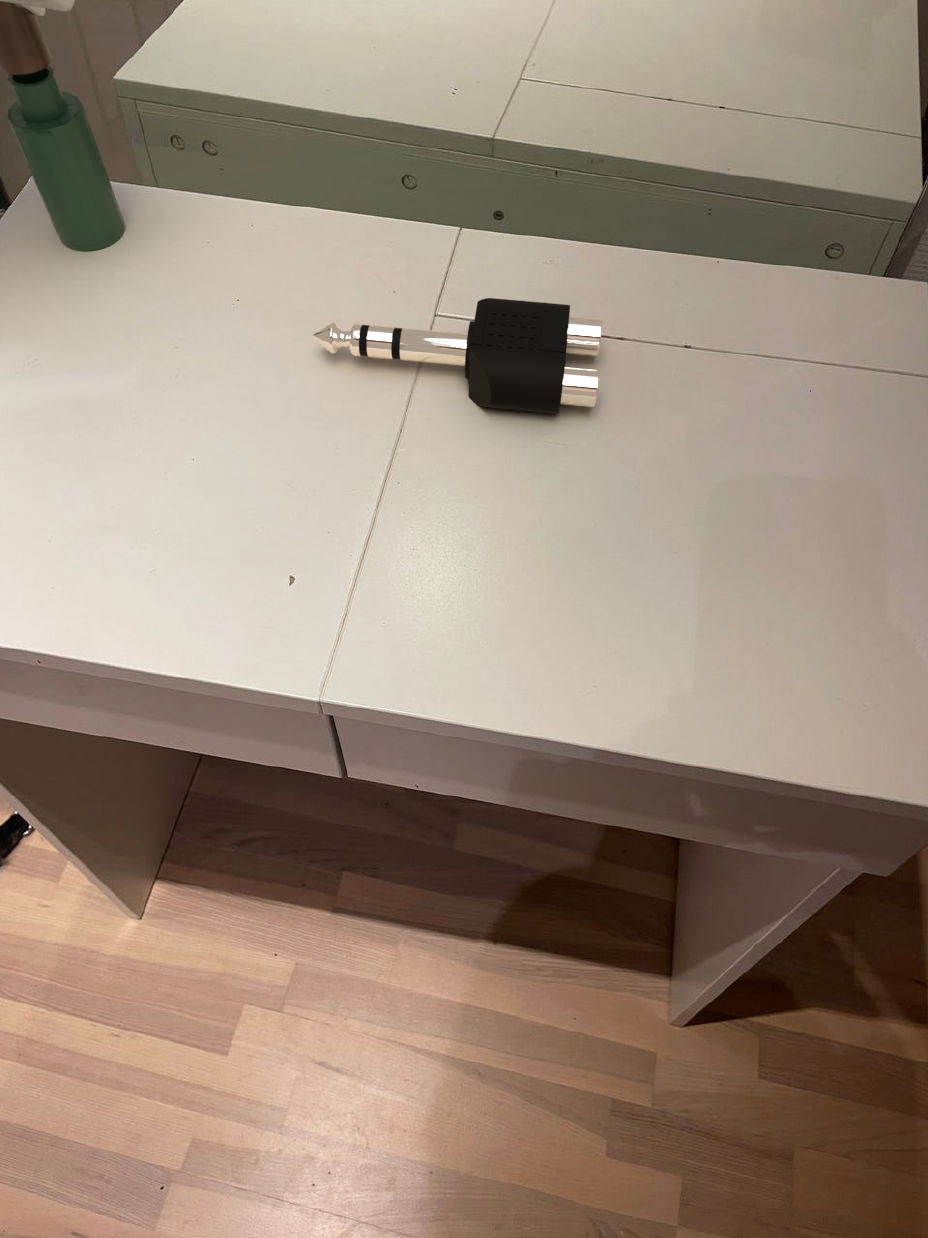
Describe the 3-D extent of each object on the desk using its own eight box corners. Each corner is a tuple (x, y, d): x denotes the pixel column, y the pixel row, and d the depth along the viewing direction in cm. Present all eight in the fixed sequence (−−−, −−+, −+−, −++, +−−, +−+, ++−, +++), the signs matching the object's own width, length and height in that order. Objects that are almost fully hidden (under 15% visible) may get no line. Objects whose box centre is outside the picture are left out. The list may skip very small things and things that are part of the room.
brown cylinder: (33, 78, 73) (-10, -33, 66) (-13, 69, 73) (-60, -42, 67) (61, 53, 75) (22, -57, 68) (17, 44, 76) (-26, -66, 69)
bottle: (58, 254, 86) (-11, 97, 73) (61, 215, 89) (-6, 58, 76) (124, 247, 87) (67, 90, 74) (124, 208, 90) (70, 51, 77)
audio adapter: (600, 382, 70) (294, 354, 71) (591, 430, 74) (303, 402, 76) (605, 293, 75) (321, 269, 77) (596, 342, 80) (329, 318, 81)
